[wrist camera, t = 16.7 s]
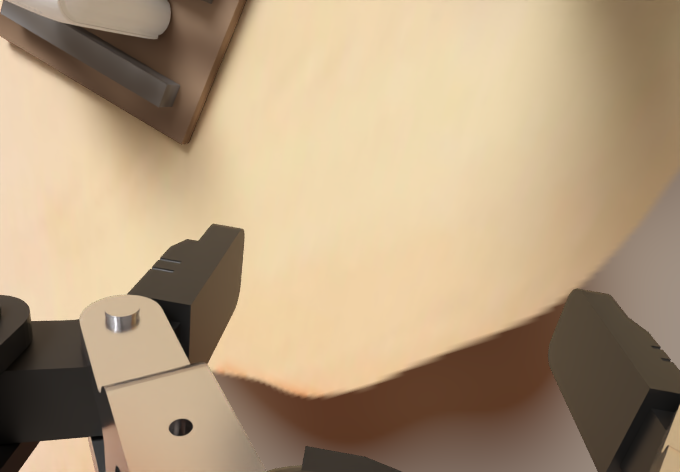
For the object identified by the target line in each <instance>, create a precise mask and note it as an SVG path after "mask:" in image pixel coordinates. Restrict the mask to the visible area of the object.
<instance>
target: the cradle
mask: <svg viewBox="0 0 680 472" xmlns="http://www.w3.org/2000/svg"><path fill="white" fill-rule="evenodd" d="M167 1H168V2H169V4H170V8H171V18H170V22H169V25H168V27H167V29H166V30H165V31H164V32H163V33H162V34H161V35H158V39H147V38H141V37H135V36H130V35H124V34H119V33H113V32H108V31H103V30H97V29H92V28H87V27H81V26H76V25H71V24H66V23H62V22H58V21H55V20H52V19H49V18H47V17H44V16H41V15H39V14H36V13H34V12H31V11H29V10H26V9H24V8H22V7H19V6H17V5H15V4H13V3H11V2H8V1H6V0H3V4H2V8H1V12H0V36H1V37H3V38H4V39H6V40H8V41H9V42H11V43H13V44H14V45H16V46H18V47H19V48H21V49H23V50H24V51H26V52H28V53H29V54H31V55H33V56H34V57H36V58H38V59H39V60H41V61H43V62H44V63H46V64H48V65H49V66H51V67H53V68H54V69H56V70H58V71H59V72H61V73H63V74H64V75H66V76H68V77H69V78H71V79H73V80H74V81H76V82H78V83H80V84H81V85H83V86H85V87H86V88H88V89H90V90H91V91H93V92H95V93H96V94H98V95H100V96H101V97H103V98H105V99H106V100H108V101H110V102H111V103H113V104H115V105H116V106H118V107H120V108H121V109H123V110H125V111H126V112H128V113H130V114H131V115H133V116H135V117H136V118H138V119H140V120H141V121H143V122H145V123H146V124H148V125H150V126H151V127H153V128H155V129H156V130H158V131H160V132H162V133H163V134H165V135H167V136H168V137H170V138H172V139H173V140H175V141H177V142H178V143H180V144H186V143H189V141H190V138H191V136H192V133H193V131H194V128H195V126H196V123H197V121H198V118H199V116H200V113H201V111H202V109H203V106H204V104H205V101H206V99H207V96H208V94H209V91H210V89H211V86H212V84H213V81H214V79H215V77H216V74H217V72H218V69H219V67H220V64H221V62H222V59H223V57H224V54H225V52H226V49H227V47H228V44H229V42H230V40H231V37H232V35H233V32H234V30H235V27H236V25H237V22H238V20H239V17H240V15H241V12H242V10H243V8H244V5H245V3H246V0H167Z"/></svg>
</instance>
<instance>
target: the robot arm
mask: <svg viewBox="0 0 680 472" xmlns="http://www.w3.org/2000/svg"><path fill="white" fill-rule="evenodd" d="M243 250H244V230H243V229H240V228H234V227H229V226H223V225H217V224H212V225H211V226H210V227H209V228H208V230H207V231H206V232H205V233H204V235H203V236H202V237H201V238H200V240H199V241H195V240H189V239H187V240H184V241H182V242H180V243H178V244H176V245H173V246H171V247H170V248H169V249H168V250H167V251H166V252H165V253H164V254H163V256H162V257H161V258H160V260H158V261H157V262H156V263H155V264H154V265H153V266H152V269H150V270H149V271H148V272H147V273H146V274H145V275H144V276H143V277H142V279H141V280H140V281H139V282H138V283H137V284H136V285H135V286H134V287H133V288H132V289H131V291H130V292H129V293H128V294H127V295H117V296H111V297H107V298H103V299H100V300H98V301H96V302H94V303H92V304H90V305H89V306H88V307H86V308H85V309H84V310H83V311H82V313H81V315H80V319H78V320H65V321H31V317H30V309H29V306H28V305H27V304H26V303H25V302H24V301H22V300H21V299H18V298H15V297H11V296H5V295H0V472H18V471H19V470H20V468H21V467H22V466H23V464H24V463H25V461H26V460H27V459H28V457H29V456H30V455H31V453H32V452H33V450H34V449H35V448H36V446H37V445H38V443H39V442H40V441H47V440H58V439H70V438H81V437H88V441H89V446H90V450H91V455H92V459H93V463H94V468H95V472H401V471H399V470H396V469H394V468H392V467H389V466H387V465H384V464H381V463H379V462H377V461H374V460H371V459H369V458H367V457H363V456H357V455H352V454H347V453H341V452H335V451H330V450H325V449H319V448H314V447H308V446H306V447H305V453H304V458H303V464H302V465H300V466H288V467H282V468H277V469H272V470H269V471H266V469H265V467H264V466H263V464H262V462H261V460H260V458H259V457H258V455H257V453H256V451H255V449H254V447H253V446H252V444H251V442H250V440H249V438H248V437H247V435H246V433H245V431H244V429H243V428H242V426H241V424H240V422H239V420H238V418H237V417H236V415H235V413H234V411H233V409H232V408H231V406H230V404H229V402H228V400H227V399H226V397H225V395H224V393H223V391H222V389H221V388H220V386H219V384H218V382H217V380H216V379H215V377H214V375H213V373H212V371H211V370H210V368H209V366H208V365H207V364H208V362H209V360H210V358H211V356H212V354H213V352H214V350H215V348H216V346H217V344H218V342H219V340H220V338H221V336H222V334H223V332H224V330H225V328H226V326H227V324H228V322H229V320H230V318H231V316H232V314H233V312H234V310H235V308H236V305H237V301H238V297H239V292H240V285H241V274H242V262H243ZM670 360H671V359H670V358H669V357H668V356H667V354H666V353H665V352H664V351H663V350H660V346H659V345H658V343H657V342H656V341H655V340H654V339H653V337H652V336H651V335H650V334H649V332H647V331H646V330H645V329H643V328H642V327H641V326H639V325H638V324H637V323H635V322H634V321H632V320H631V319H630V318H628V316H627V315H626V314H625V313H624V311H623V310H622V309H621V307H620V306H619V305H618V304H617V302H616V301H615V300H614V299H613V297H612V296H611V295H609V294H605V293H599V292H594V291H588V290H582V289H574V290H573V291H572V292H571V293H570V295H569V296H568V299H567V301H566V304H565V306H564V309H563V311H562V314H561V316H560V319H559V321H558V324H557V326H556V329H555V331H554V334H553V336H552V339H551V341H550V344H549V350H548V362H549V366H550V369H551V371H552V373H553V375H554V377H555V380H556V381H557V384H558V386H559V388H560V391H561V393H562V395H563V397H564V399H565V401H566V404H567V406H568V408H569V410H570V412H571V414H572V417H573V419H574V420H575V423H576V425H577V427H578V429H579V432H580V434H581V436H582V438H583V440H584V443H585V445H586V447H587V449H588V451H589V453H590V455H591V458H592V460H593V462H594V464H595V466H596V469H597V471H598V472H680V370H679V369H678V368H677V367H676V365H674V363H673V362H670Z"/></svg>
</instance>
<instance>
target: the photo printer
mask: <svg viewBox="0 0 680 472" xmlns="http://www.w3.org/2000/svg"><path fill="white" fill-rule="evenodd" d="M6 1H8V2H11V3H13V4H15V5H17V6H19V7H22V8H24V9H26V10H29V11H31V12H34V13H36V14H39V15H41V16H44V17H47V18H49V19H52V20H55V21H58V22H62V23H66V24H71V25H76V26H81V27H87V28H92V29H97V30H103V31H108V32H113V33H119V34H124V35H130V36H135V37H141V38H147V39H158V35H161V34H162V33H163V32H164V31H165V30H166V29H167V27H168V25H169V22H170V18H171V8H170V4H169V2H168V1H167V0H6Z"/></svg>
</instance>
